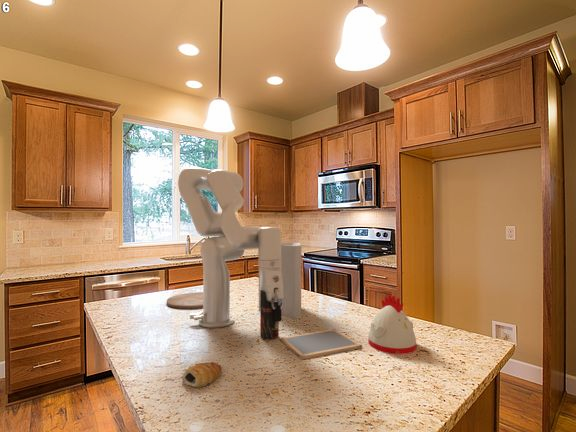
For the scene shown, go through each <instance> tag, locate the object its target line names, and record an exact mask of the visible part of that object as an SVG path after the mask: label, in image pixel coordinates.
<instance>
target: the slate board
mask: <svg viewBox="0 0 576 432" xmlns="http://www.w3.org/2000/svg"><path fill="white" fill-rule="evenodd" d="M280 341H281V343H282V344H284V345H285V346H286V347H287V348H288V349H289V350H290V351H292V353H293V354H295V355H296V356H297V357H298V358H299V359H300V360H306V359H311V358H316V357H320V356H321V357H322V356H325V355H326V356H327V355H332V354H337V353H343V352H347V351H352V350H356V349H362V348H363V344H361V343H360V342H358V341H355V339H352V338H351V337H349V336H348V335H346V334H344V333H342V332H340V331H339V330H337V329H335V328H333V329H327V330H321V331H315V332H309V333H307V332H306V333H301V334H296V335H289V336H283V337H280Z"/></svg>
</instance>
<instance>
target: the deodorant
mask: <svg viewBox="0 0 576 432" xmlns="http://www.w3.org/2000/svg"><path fill="white" fill-rule="evenodd" d="M276 299H277V298H276ZM275 303H276V302H274V305H275ZM271 309H272V305H271V302H269V301H267V298H266V292H264V291H263V290H260V311H259V313H260V314H259V315H260V323H259V324H260V325H259V326H260V328H259V330H260V332H259V333H260V335H259V336H260V339H262V340H264V341H272V340H277V339H278V338H279V332H280V331H279V329H280V327H279V324H280V323H279V322H280V321H279V322H272V321H271Z"/></svg>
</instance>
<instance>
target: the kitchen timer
mask: <svg viewBox="0 0 576 432" xmlns="http://www.w3.org/2000/svg"><path fill="white" fill-rule="evenodd" d="M400 300H401V299H400V297H397V298H396V296H395V295H391V294H389V295H388V296H387V297H386V296H385V297H384V299H382V300H381V305H382V308H381V309H379V311H378V312H377V313H376V314H375V316H374V318H373V319H372V322H371V323H370V326H369V327H370V328H369V331H368V345H369V346H370V347H371V348H373V349H374V350H377V351H378V352H382V353H385V354H393V355H397V354H398V355H404V354H411V353H413V352H415V351H416V349H417V339H416V335H415V334H416V333H415V330H414V329H413V328H414V324H413V322H412V320H410V319H409V317H408V316H407V314H406V313H405V312H404V311H403V310H402V309H403V306H404V302H402V303H401V301H400Z"/></svg>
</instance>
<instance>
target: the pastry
mask: <svg viewBox="0 0 576 432" xmlns="http://www.w3.org/2000/svg"><path fill="white" fill-rule="evenodd" d="M222 370H223V369H222V365H221V364H218V363H217V362H215V361H210V362H200V363H199V362H198V363H195V364H194V365H191V366H189V367H188V368H186V369H185V372H183V375H182V376H181V379H182V382H183V383H184V384H185V385H186V386H190V387H193V388H203V387H207V385H208V384H212V383H214V381H216V380H217V379H218V378H219V377H220V376H221V375H222Z"/></svg>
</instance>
